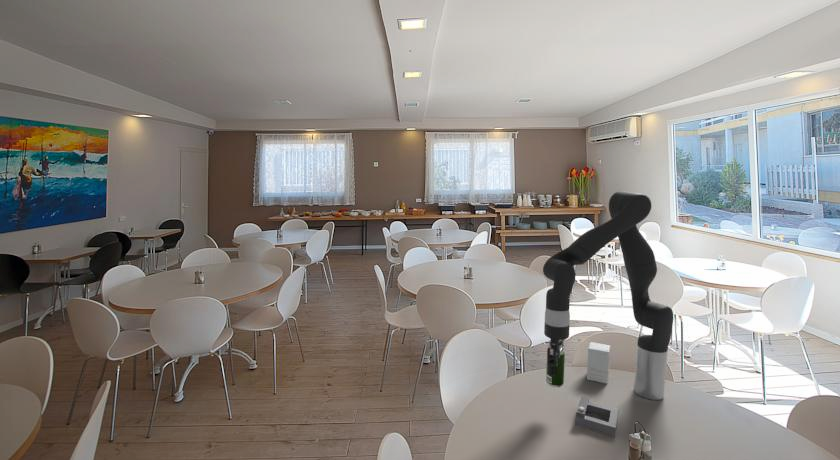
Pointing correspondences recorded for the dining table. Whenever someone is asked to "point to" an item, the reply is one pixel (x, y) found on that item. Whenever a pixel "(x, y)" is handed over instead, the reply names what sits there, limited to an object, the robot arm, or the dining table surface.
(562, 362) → the beer can
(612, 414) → the grey square frame
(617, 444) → the dining table surface
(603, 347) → the supplement box
